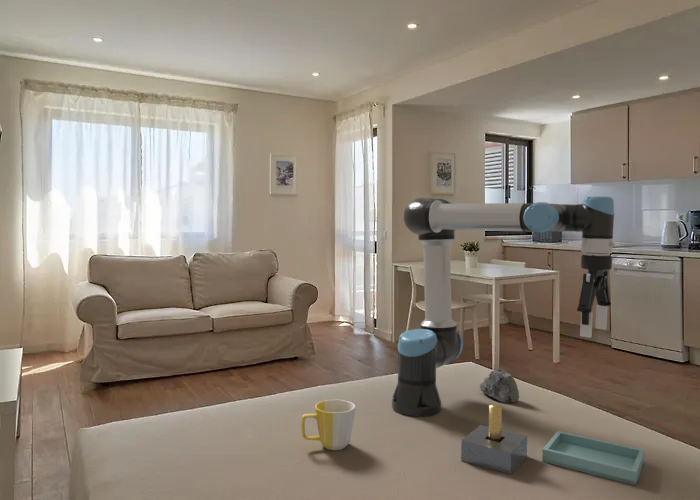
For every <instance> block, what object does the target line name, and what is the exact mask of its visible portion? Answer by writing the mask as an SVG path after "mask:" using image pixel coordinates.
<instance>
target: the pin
mask: <svg viewBox="0 0 700 500" xmlns="http://www.w3.org/2000/svg"><path fill="white" fill-rule="evenodd" d="M502 410H503V406H502V404H499V403H489V404H488V427H489V433H488V440H492V441H496V442H501V430H502V419H503V417H502V416H503V415H502V414H503V411H502Z"/></svg>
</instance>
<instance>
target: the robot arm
mask: <svg viewBox="0 0 700 500" xmlns="http://www.w3.org/2000/svg"><path fill="white" fill-rule="evenodd" d="M614 202H615V201H614V199H613V197H610V196H585V197H584V198H583V201H582V203H579V204H559V203H548V202H543V201H542V202H541V201H540V202H528V203H527V202H526V203H525V202H518V203H517V202H513V203H511V202H504V203H503V202H499V203H494V202H493V203H490V202H487V203H486V202H485V203H453V202H452V201H449V200H447V199H443V198H429V197H428V198H427V197H418V198H415V199H413V200H411V201H410V202H408V204H407V205H406V207H405V209H404V211H403V223H404V225H405V226H406V228H407V229H408V230H409V231H410V232H412V234H415V235H418V242H419V243H420V244H421V245H422V247H423V280H424V281H423V283H424V284H423V285H424V286H423V287H424V288H423V289H424V320H422V321H421V323H420V328H415V329H409V330H406V331H404V332H401V334H400V335H399V336H398V342H397V343H398V344H397V384H396V387H395V390H394V392H393V395H392V399H391V408H392V409H393V410H394V411H395V412H396V413H399V414H402V415H404V416H405V415H406V416H411V417H412V416H413V417H429V416H434V415H437V414H439V413H441V411H442V400H441V396H440V393H439V390H438V386H437V369H438V368H441V367H443V366H446V365H449V364H452V362H454V361H455V360H457V359H458V358H459V356H460V355H461V354H462V352H463V347H464V343H463V342H464V341H463V337H462V335H461V334H460V332H459V331H458V326H457V325H458V324H457V322H456V321H455V320H453V319H452V318H453V316H452V314H453V313H452V280H451V279H452V274H451V272H452V271H451V245H452V243H453V242H454V241H456V240H455V232H456V231H457V230H458V231H461V230H462V231H494V232H495V231H496V232H497V231H498V232H526V233H527V232H531V233H534V232H535V233H548V232H549V233H552V232H554V233H555V232H569V233H571V232H572V233H573V232H576V233H580V232H581V234H582V236H581V250H580V252H581V253H582V255H581V256H580V257H581V258H580V267H581V268H582V269H583V270H587V273H583V276H582V285H581V290H580V296H579V300H578V306H577V308H576V311H577V312H580V321H579V322H580V325H579V327H580V329H579V337H583V338H592V336H593V335H592V333H593V313H594V312H592V310H593V306H594V302H595V298H596V302H597V304H596V306H595V307H596V308H595V329H598V330H604V331H607V327H608V325H607V324H608V307H611V305H612V302H611V297H610V288H609V287H610V286H609V280H608V279H609V271H610V270H611V269H612V268H613V257H612V255H610V254H612V253H613V247H614V246H615V245H616V244H615V242H613V238H614V221H615V209H614V208H615V203H614ZM608 270H609V271H608Z"/></svg>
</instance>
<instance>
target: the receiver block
mask: <svg viewBox="0 0 700 500" xmlns="http://www.w3.org/2000/svg"><path fill="white" fill-rule="evenodd" d="M488 433H489V426H487V425H483V424H480V425H478V426H477V427H476V428H475V429H474V430H472V431H470V433H468V434H467V435H466V436H465V437H464V438H462V439H461V450H460V451H461V452H460V453H461V455H460V460H461V461H462V462H465V463H469V464H471V465H476V466H479V467H483V468H486V469H490V470H494V471H497V472H500V473H504V474H508V475H512V474H513V473H514V471H515V470H516V469H517V468H518V466H520V465H521V463H522V462H523V461H524V460H525V458H527V456H528V435H525V434H521V433H516V432H513V431H510V430H509V431H508V430H504V429H501V442H496V441H492V440H488Z"/></svg>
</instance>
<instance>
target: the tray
mask: <svg viewBox="0 0 700 500" xmlns="http://www.w3.org/2000/svg"><path fill="white" fill-rule="evenodd" d="M645 452H646V451H645V449H641V448H637V447H634V446H629V445H624V444H620V443H614V442H611V441H605V440H600V439H596V438H592V437H587V436H583V435H580V434H579V435H578V434H574V433H570V432H565V431H559V430H557V431H556V432H555V434H553V436H552V437H551V438H550V440H549V441H548V442H547V443H546V445H545V446H544V447H543V448H542V457H541V459H542V462H543V463H547V464H549V465H554V466H558V467H562V468H566V469H568V470H569V469H570V470H573V471H574V470H575V471H578V472H583V473H585V474H589V475H593V476H597V477H601V478H605V479H609V480H612V481H617V482H620V483H625V484H628V485H632V486H637V484H638V482H639V478H640V476H641V473H642V470H643V467H644V465H643V464H644V463H645V457H646V455H645Z"/></svg>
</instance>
